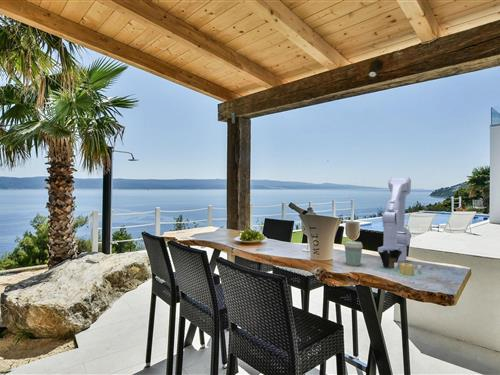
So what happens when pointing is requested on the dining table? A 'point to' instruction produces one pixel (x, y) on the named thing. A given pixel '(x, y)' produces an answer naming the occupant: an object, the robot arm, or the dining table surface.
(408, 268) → the pale yellow block
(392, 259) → the gear
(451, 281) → the dining table surface
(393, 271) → the gear board
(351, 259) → the coffee cup
